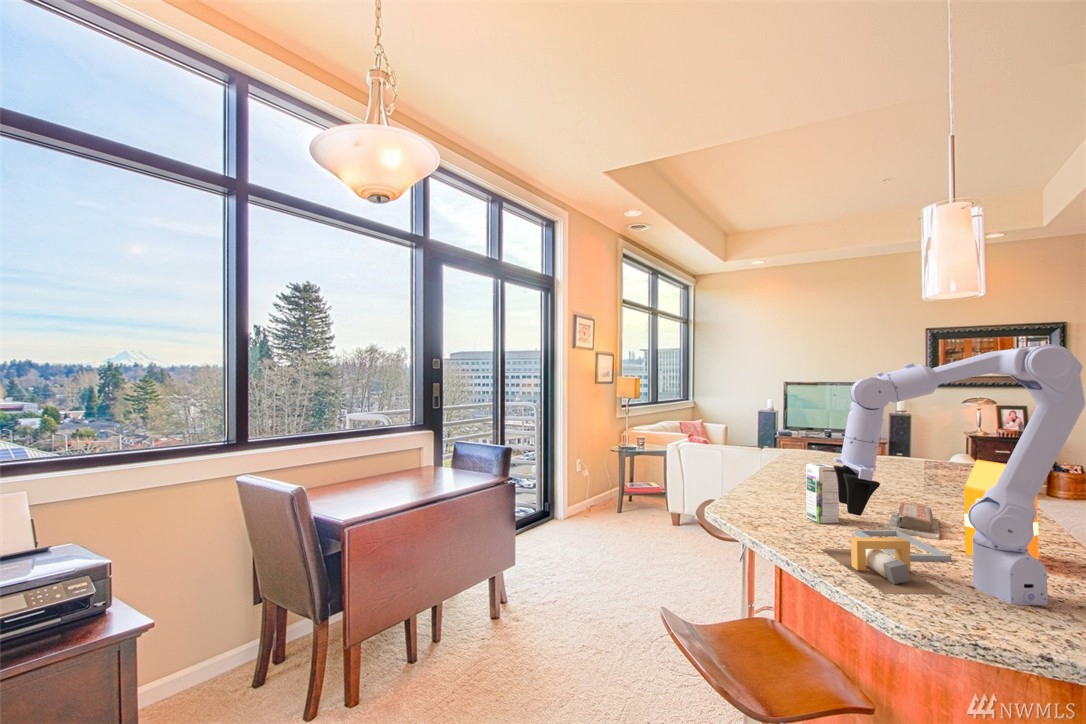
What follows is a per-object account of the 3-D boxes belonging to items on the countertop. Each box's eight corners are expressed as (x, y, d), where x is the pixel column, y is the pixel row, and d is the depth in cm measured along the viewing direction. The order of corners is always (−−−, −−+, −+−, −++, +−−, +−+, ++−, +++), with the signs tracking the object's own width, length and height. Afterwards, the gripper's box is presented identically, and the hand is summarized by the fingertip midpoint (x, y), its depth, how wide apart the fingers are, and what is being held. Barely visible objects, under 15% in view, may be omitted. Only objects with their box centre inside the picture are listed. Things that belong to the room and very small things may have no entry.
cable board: (950, 600, 87) (950, 594, 87) (884, 599, 87) (884, 593, 87) (872, 554, 109) (872, 549, 109) (820, 553, 109) (819, 548, 109)
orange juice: (1012, 568, 100) (1009, 467, 101) (964, 553, 109) (962, 460, 109) (1039, 564, 102) (1037, 465, 103) (991, 550, 111) (989, 458, 111)
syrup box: (805, 517, 136) (804, 463, 137) (826, 516, 137) (825, 463, 137) (819, 523, 131) (818, 467, 131) (840, 523, 131) (839, 466, 131)
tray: (951, 565, 102) (951, 555, 102) (902, 565, 102) (902, 555, 102) (897, 538, 119) (897, 530, 119) (855, 538, 119) (855, 529, 119)
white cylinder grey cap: (914, 582, 90) (908, 560, 91) (892, 587, 91) (886, 565, 91) (876, 559, 101) (871, 540, 102) (856, 564, 102) (851, 544, 102)
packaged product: (891, 499, 138) (938, 505, 132) (892, 517, 138) (938, 523, 132) (887, 514, 124) (939, 521, 118) (887, 534, 124) (939, 542, 118)
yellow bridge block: (910, 570, 96) (910, 541, 96) (857, 570, 96) (856, 541, 96) (903, 566, 98) (903, 538, 98) (851, 566, 98) (851, 537, 98)
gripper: (830, 430, 106) (819, 494, 106) (846, 440, 92) (833, 513, 93) (869, 437, 103) (858, 502, 104) (891, 448, 90) (878, 523, 90)
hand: (849, 508), depth 98 cm, fingers open, 7 cm apart
